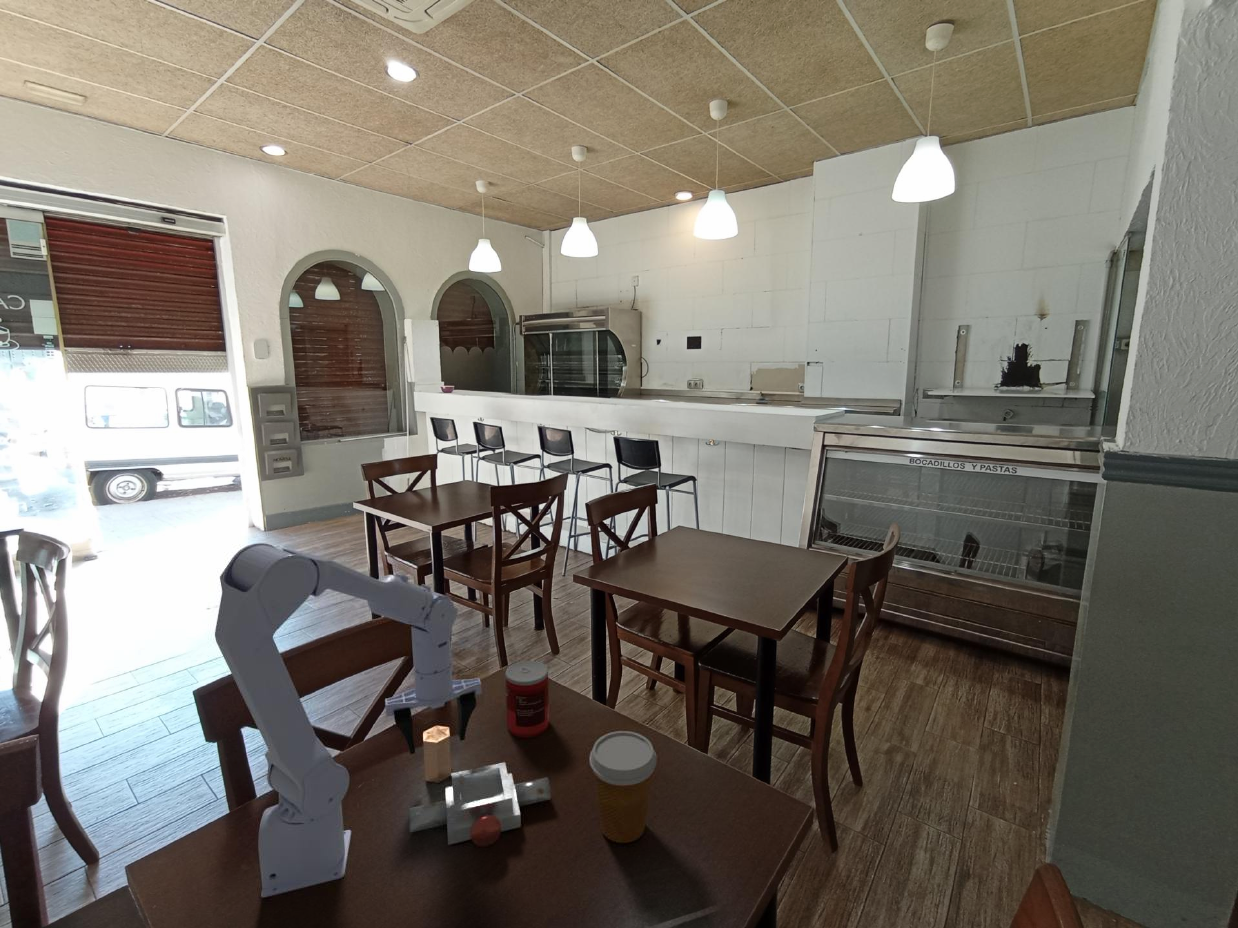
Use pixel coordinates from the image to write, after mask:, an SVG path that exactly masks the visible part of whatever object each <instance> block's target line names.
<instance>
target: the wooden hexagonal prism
mask: <svg viewBox="0 0 1238 928" xmlns="http://www.w3.org/2000/svg"><path fill="white" fill-rule="evenodd" d="M422 733H423V734H422V738H423V741H422V743H423V759H424V760H423V762H424V779H425V780H424V781H425V782H432V783H441V782H443V781H444V780H446V779H447V778H449V777H452V760H451V759H452V758H451V737H450V727H448V726H443V725H442V726H441V725H435V726H433V727H431V728H428V729H427V730H425V731H423V732H422Z"/></svg>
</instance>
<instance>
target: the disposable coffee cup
mask: <svg viewBox="0 0 1238 928" xmlns="http://www.w3.org/2000/svg"><path fill="white" fill-rule="evenodd" d="M653 747H654V746H653V745H652V743H651V741H650V740H649V739H648V738H646V737H645V736H644V735H642V734H640V733H637V732H634V731H630V730H629V731H627V730H625V731H624V730H623V731H622V730H618V731H613V732H609V733H606V734H604V735H602V736H600V737H599V738H598V739H597V740H596V741H595V742H594V745H593V747H592V750H591V751H590V754H589V760H588V761H589V765H590V768H591V770H592V772H593V776H594V777H593V778H594V783H595V793H596V798H597V804H598V805H597V807H598V814H599V820H600V829H601V832H602V833H603V835H604V836H605V837H606V838H607V839H609V840H610V841H613V842H615V843H619V844H626V843H628V844H629V843H632V842H634V841H636V840H637V839H640V837H641V836H642V835H643V833H644V831H645V828H646V827H645V826H646V820H647V812H648V807H649V800H650V799H649V798H650V794H651V785H652V778H653V772H654V770H655V768H656V766H657V762H658V760H657V754H656V751H655V750H654V748H653Z"/></svg>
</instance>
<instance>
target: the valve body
mask: <svg viewBox="0 0 1238 928" xmlns="http://www.w3.org/2000/svg"><path fill="white" fill-rule="evenodd" d="M513 778H514V777H513V774H512V773H508V770H507V765H506V762H499V763H496V764H495V763H493V764H490V765H484V766H481V767H476V768H471V769H466V770H462V771H458V772H451V786H447V787H445V799H444V800H441V801H437V802H436V801H435V802H432V803H427V804H422V805H418V806H414V807H410V808H409V811H408V812H409V813H408V815H409V816H408V818H409V824H408V825H409V833H414V832H418V831H422V830H427V829H430V828H435V827H439V826H443V825H446V826H447V827H446V828H447V845H448V846H450V845H454V844H458V843H462V842H465V841H468V840H471V841H472V842H473V844H474V845H476V846H479V847H487V846H490V845H492V844H494V843H495V842H496V841H497V840H498V839H499V838H500V836H501V833H502V832H506V831H509V830H512V829H513V830H514V829H517V828H521V827H522V826H521V825H522V824H521V822H522V821H521V820H522V819H521V811H520V807H524V806H528V805H531V804H535V803H536V804H537V803H539V802H545V801H548V800H551V796H552V795H551V787H550V781H549V778H548V776H545V777H541V778H537V779H533V780H529V781H525V782H524V781H523V782H521V783H516V784H515V782H514V779H513Z"/></svg>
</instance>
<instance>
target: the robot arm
mask: <svg viewBox="0 0 1238 928" xmlns="http://www.w3.org/2000/svg"><path fill="white" fill-rule="evenodd" d="M226 565H227V566H226V567H225V568H224V570H223V571H222V573H221V574H220V575H219V581H220V587H221V597H220V602H219V609H218V613H217V618H216V619H217V620H216V625H215V631H214V638H215V642H216V644H217V646H218V649H219V650H220V652H221V654H222V657H223V658H224V661H225V663H226V666H227V667H228V669H229V671H230V673H231V675H232V677H233V679H234V681H235V683H236V686H237V687H238V690H239V692H240V694H241V696H242V698H243V700H244V702H245V705H246V706H247V708H248V711H249V712H250V714H251V717H252V718H253V721H254V723H255V725H256V727H257V729H258V731H259V734H260V736H261V737H262V739H263V741H264V744H265V746H266V747H267V751H266V752H265V753H264V757H265V759H266V761H267V772H266V774H267V775H266V781H267V784H268V785H269V787H270V788H271V789H272V790H274V791H275V792H278V804H276V805H273V806H270V807H268V808H266V809H264V811H263V813H262V817H261V819H260V824H259V829H258V841H257V842H258V843H257V847H258V849H257V850H258V856H259V857H258V858H259V867H260V869H259V870H260V875H261V876H260V879H261V886H262V889H261V892H260V895H261V898H268V897H273V896H276V895H279V894H285V893H287V892H291V891H295V890H299V889H303V888H307V887H311V886H315V885H316V886H317V885H319V884H323V883H326V882H330V881H335V880H339V879H342V878H343V877H344V876H345V875H346V868H347V862H348V856H349V851H350V845H351V839H352V830H351V829H347V830H344V821H343V806H342V805H343V804H342V801H343V799H344V797H345V796H346V794H347V792H348V790H349V787H350V774H349V772H348V770H347V768H346V767H345V766H343V765H341V764H339V763H337V762H335V759H334V758H333V756H332V754H331V752H330V751H329V750H328V749H327V747H326V746H325V745H324V744H323V742H322V741H321V740H320V739H319V738H318V737H317V735H316V731H314V728H313V726H312V724H311V721H310V719H309V717H308V715H307V712H306V710H305V707H304V706H303V703H302V701H301V698H300V696H299V694H298V691H297V690H296V687H295V685H294V683H293V681H292V678H291V676H290V673H289V671H288V670H287V667H286V665H285V662H284V660H283V657H282V656H281V653H280V651H279V649H278V646H277V644H276V641H275V639H274V636H275V633H276V632H277V631H278V630H279V629H280V628H281V626H283V624H284V623H285V622H287V621H288V620H289V618H290V617H291V616H292V615H294V613H296V611H297V610H298V609H299V608H300V607H301V606H302V605H303V604H304V603H305V602H306V601H307V600H308V598H309V597H311V596H313V597H315V598H317V597H320V596H321V595H322V594H323V593H324V592H325V591H327V590H331V591H335V592H337V593H340V594H344V595H347V596H351V597H354V598H358V599H361V600H363V601H367V605H368V608H369V610H370V612H372V614H375V615H378V616H382V617H385V618H388V619H391V620H393V621H397V622H400V623H403V624H406V625H411V642H412V643H411V645H412V646H411V647H412V659H413V661H412V663H413V678H414V688H413V689H410V690H407V691H405V692H402V693H400V694H398V695H395V696H392V697H389V698H385V699H384V703H385V704H384V705H385V707H384V708H385V714H386V717H392V716H393V717H394V723H395V725H396V727H397V729H399V731H400V732H401V733H402V735H403V736H404V739H405V741H406V742H407V745H408V749H409V753H410V755H413V754H416V747H415V740H414V730H413V728H414V727H413V723H414V721H413V717H412V709H416V708H420V707H424V708H425V707H430V709H433V710H434V709H439V708H442V707H444V706H445V703H446V702H449V701H451V700H453V699H456V705H457V708H456V709H457V734H458V738H459V741H460V742H462V741H465V740H466V732H467V728H468V724H469V721H470V719H471V717H472V714H473V712H474V710H475V709H476V706H477V698H476V696H479V695H482V694H483V693H482V692H483V691H482V682H481V679H480V677H475V678H469V679H453V663H452V662H453V661H452V642H451V638H452V635H453V628H454V627H453V626H454V624H455V622H456V619H457V617H458V611H459V610H458V608H457V607H455V604H454V601H452V599H451V598H450V596H447V595H445V594H441V593H438V592H436V591H433V590H432V589H431V588H432V587H431V586H429V585H426V584H424V583H422V584H421V585H418V584H417V583H413V582H411V581H408V580H409V578H410V577H409V576H407V575H405V574H402V573H398V572H396V574H395V575H393V574H387V575H384V576H382V577H380V578H378V579H377V578H374V577H372V576H369V575H367V574H365V573H363V572H360V571H357V570H355V569H353V568H351V567H348V566H346V565H344V564H341V563H338V562H336V561H333V560H330V559H328V558H325V557H323V556H319V555H315V554H310V553H307V552H303V551H297V550H295V549H294V550H293V549H290V548H289V549H288V548H285V547H284V548H283V547H282V549H279V548H277V547H275V546H274V545H272V544H268V543H266V542H256V543H252V544H248V545H245V546H244V547H243V548H241V549H239V550H238V551H237V552H236V553H235V554H234V555H233V557H232V558H231V560H230V561H229V562H228V563H227V564H226Z"/></svg>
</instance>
